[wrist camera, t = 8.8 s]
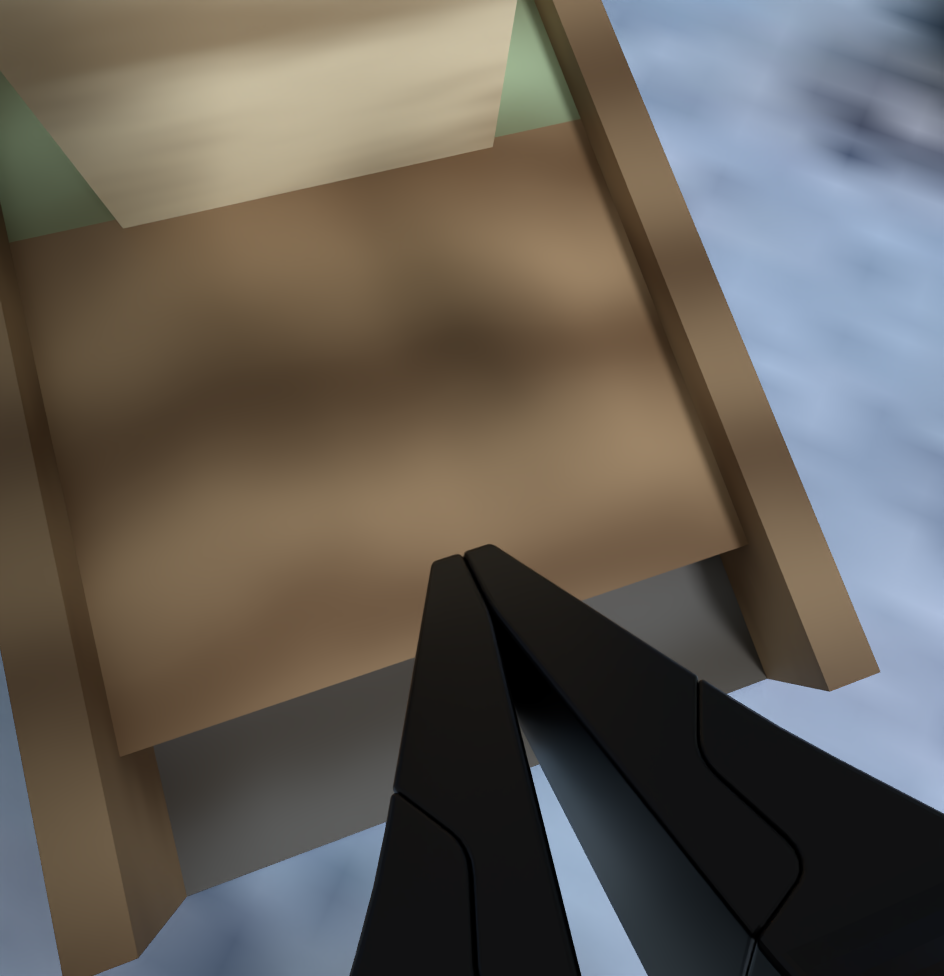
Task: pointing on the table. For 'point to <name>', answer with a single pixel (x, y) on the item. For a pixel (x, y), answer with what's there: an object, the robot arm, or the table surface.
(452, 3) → the birch block
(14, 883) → the table surface
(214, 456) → the trap lane
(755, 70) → the table surface
